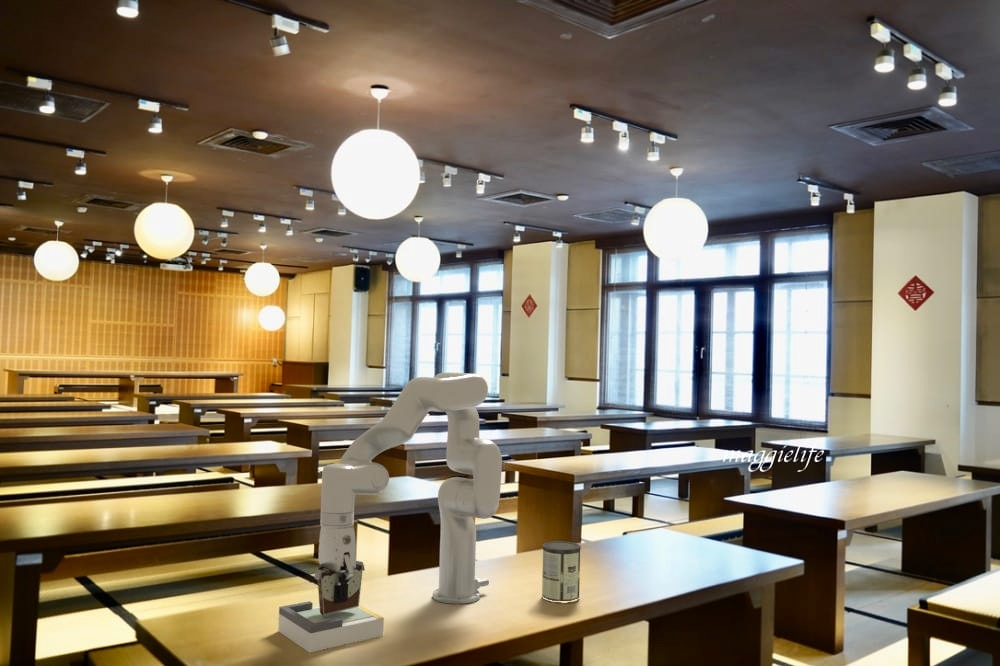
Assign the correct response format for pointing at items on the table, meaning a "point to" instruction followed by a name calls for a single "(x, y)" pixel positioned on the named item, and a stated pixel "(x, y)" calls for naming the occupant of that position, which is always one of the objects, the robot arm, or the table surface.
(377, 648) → the table surface
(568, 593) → the coffee can
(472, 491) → the robot arm
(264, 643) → the table surface
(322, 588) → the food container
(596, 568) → the table surface
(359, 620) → the loading dock
